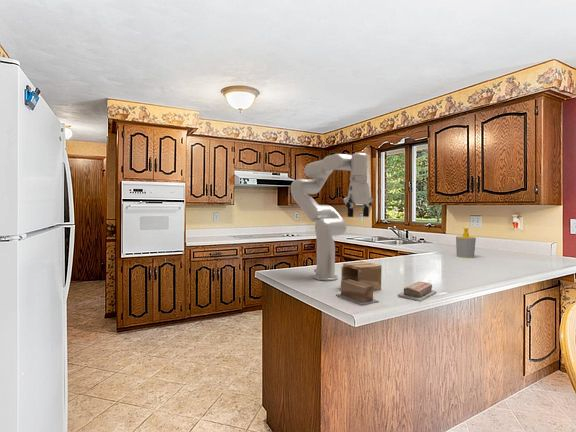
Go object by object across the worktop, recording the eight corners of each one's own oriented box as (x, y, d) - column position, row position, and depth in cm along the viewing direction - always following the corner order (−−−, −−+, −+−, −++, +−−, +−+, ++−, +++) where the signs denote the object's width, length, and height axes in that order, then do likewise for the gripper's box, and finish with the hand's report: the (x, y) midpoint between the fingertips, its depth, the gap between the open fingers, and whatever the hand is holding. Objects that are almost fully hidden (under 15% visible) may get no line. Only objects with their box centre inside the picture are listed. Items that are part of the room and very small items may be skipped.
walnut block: (363, 302, 137) (363, 287, 137) (340, 294, 149) (341, 280, 149) (372, 300, 140) (373, 286, 140) (349, 292, 152) (349, 279, 152)
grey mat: (336, 295, 149) (336, 294, 149) (351, 292, 154) (351, 292, 154) (362, 305, 135) (362, 304, 135) (378, 302, 140) (378, 301, 140)
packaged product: (414, 279, 161) (436, 283, 154) (414, 290, 161) (436, 294, 154) (397, 286, 148) (420, 290, 141) (397, 297, 148) (420, 302, 141)
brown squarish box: (341, 287, 164) (341, 263, 163) (362, 283, 170) (362, 261, 170) (359, 293, 153) (360, 268, 152) (381, 289, 160) (381, 265, 159)
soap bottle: (477, 256, 257) (478, 228, 256) (472, 258, 248) (473, 229, 247) (458, 254, 266) (459, 227, 265) (452, 256, 257) (453, 228, 256)
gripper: (350, 179, 155) (349, 217, 155) (378, 180, 164) (377, 216, 164) (339, 179, 161) (338, 216, 162) (366, 181, 170) (366, 216, 171)
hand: (358, 216), depth 163 cm, fingers open, 9 cm apart
